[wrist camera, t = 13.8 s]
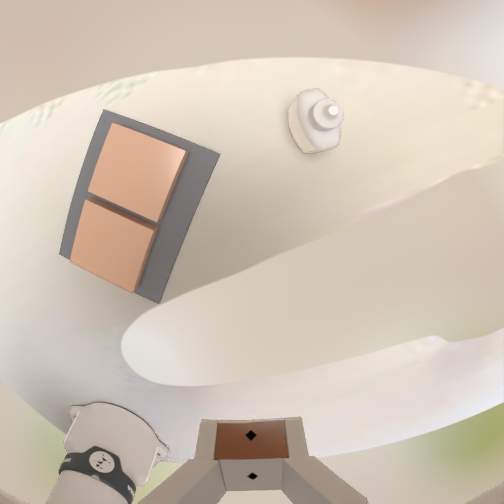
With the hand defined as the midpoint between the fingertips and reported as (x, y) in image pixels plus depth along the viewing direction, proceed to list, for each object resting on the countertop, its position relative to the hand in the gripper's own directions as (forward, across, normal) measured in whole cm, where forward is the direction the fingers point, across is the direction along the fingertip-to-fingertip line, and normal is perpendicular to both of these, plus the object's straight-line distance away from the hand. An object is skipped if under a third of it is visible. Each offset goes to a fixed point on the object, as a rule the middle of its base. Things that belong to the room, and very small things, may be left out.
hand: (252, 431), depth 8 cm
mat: (+27, +14, -4) cm, 31 cm away
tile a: (+26, +12, +2) cm, 29 cm away
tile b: (+26, +8, -6) cm, 28 cm away
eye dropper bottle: (+27, -6, -12) cm, 30 cm away
